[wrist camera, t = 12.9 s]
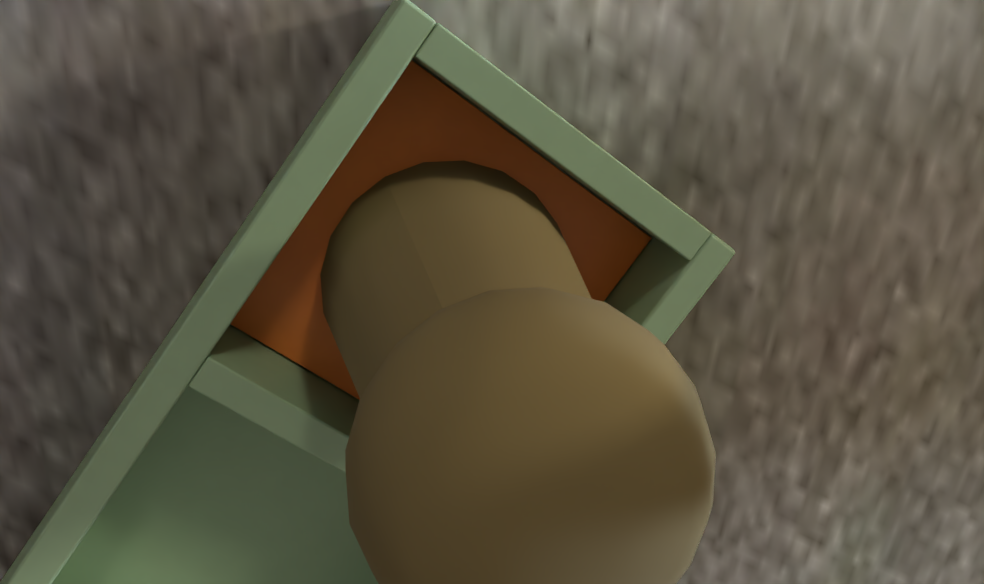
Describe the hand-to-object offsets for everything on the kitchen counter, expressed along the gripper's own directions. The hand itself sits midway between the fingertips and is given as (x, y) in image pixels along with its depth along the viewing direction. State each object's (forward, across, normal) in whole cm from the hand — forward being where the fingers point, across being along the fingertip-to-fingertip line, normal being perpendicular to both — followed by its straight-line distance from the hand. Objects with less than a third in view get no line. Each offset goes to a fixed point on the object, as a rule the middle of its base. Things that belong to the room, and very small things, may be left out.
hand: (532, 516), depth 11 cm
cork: (+11, 0, 0) cm, 11 cm away
